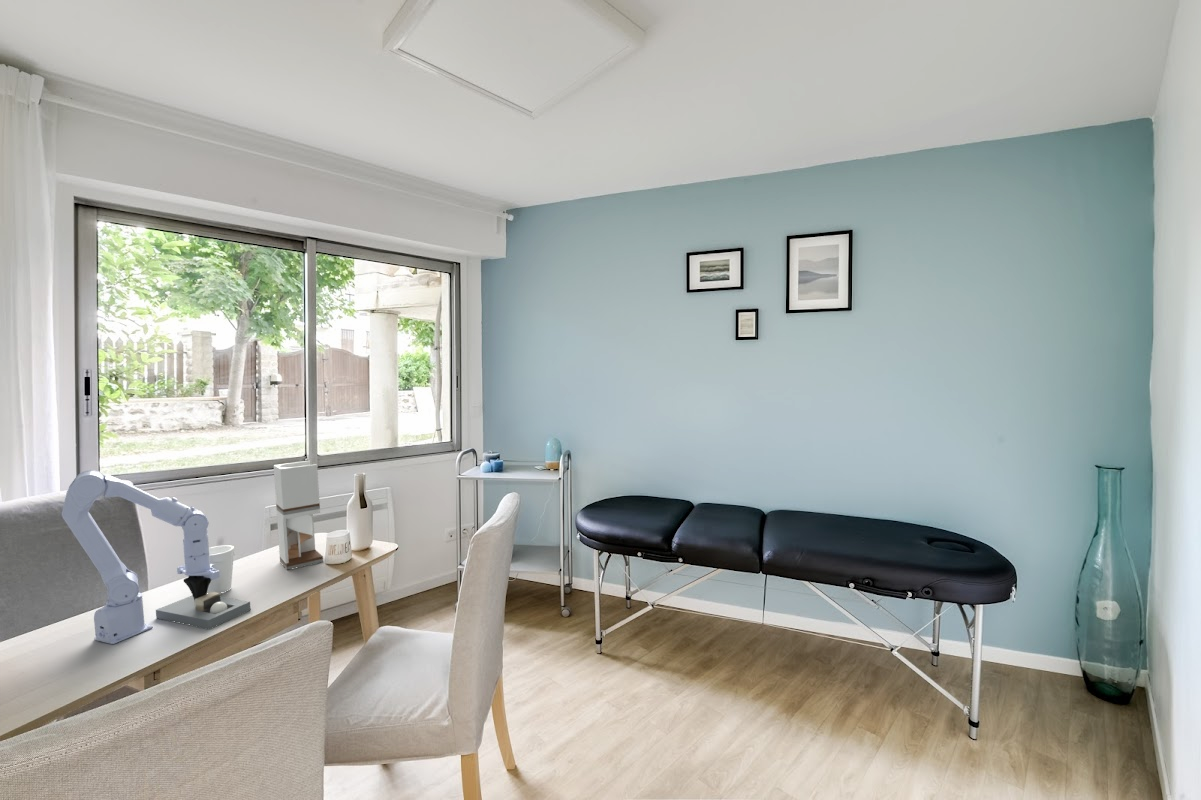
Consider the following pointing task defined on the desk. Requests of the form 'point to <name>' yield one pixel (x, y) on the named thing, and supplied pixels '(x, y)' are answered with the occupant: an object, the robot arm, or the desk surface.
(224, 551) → the foam cup
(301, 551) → the white coffee grinder
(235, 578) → the desk surface
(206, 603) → the cream rectangular block
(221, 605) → the ball
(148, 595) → the desk surface
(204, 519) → the robot arm
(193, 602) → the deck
